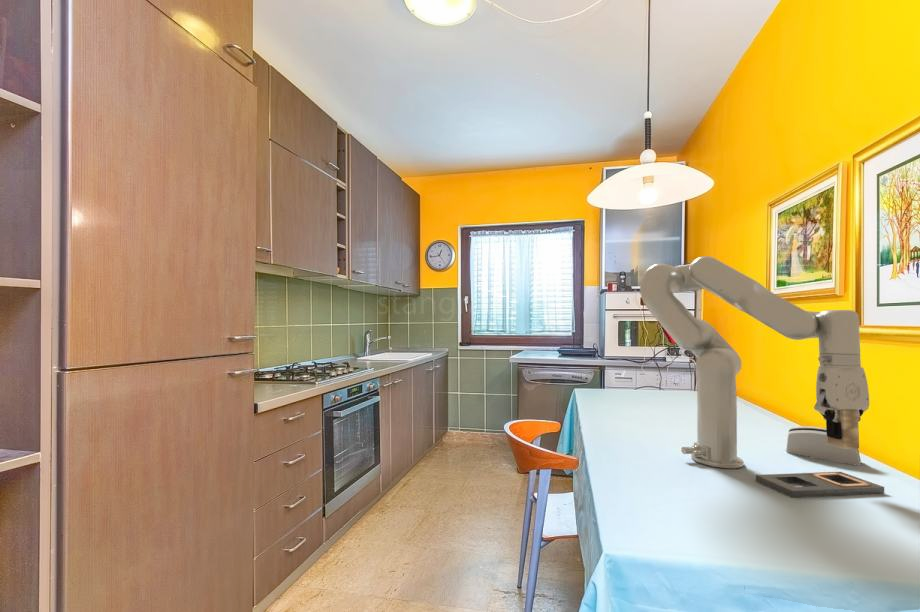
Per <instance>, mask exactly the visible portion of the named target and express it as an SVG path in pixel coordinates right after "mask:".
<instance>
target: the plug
mask: <svg viewBox="0 0 920 612" xmlns="http://www.w3.org/2000/svg"><path fill="white" fill-rule="evenodd" d="M831 408H833V407H831ZM831 413H832V414H833V410H831ZM838 422H841V432H842V439H835V438H831V437H828V444H829V445H832V446H836V447H839V448H843V449H856V448H858V449H860V433H859V432H860V431H859V429H860V428H858V427H859V422H858V410H840V415H839V421H838Z"/></svg>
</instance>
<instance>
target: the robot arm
mask: <svg viewBox="0 0 920 612" xmlns="http://www.w3.org/2000/svg"><path fill="white" fill-rule="evenodd" d="M639 284H640V286H639V290H640V296H641V297H640V298H641V299H642V302H643V303H644V305H645V307H646V309H647V310H648V311H649V312H650V314H651V315H652V316H653V317H654V318H655V320H657V322H658V323H659V324H660V326H661V327H662V328H663V329H664V331H666V333H667V334H668V335H669V337H670V338H671V339H672V340H673V341H674V343H675V344H676V345H677V346H678V347H679V348H681V349H682V350H685V351H690V352H691V353H692V354H693V355H694V356H695V357H696V361H695V381H696V391H697V392H696V393H697V394H696V396H697V397H696V398H697V399H696V403H697V409H696V412H697V418H696V419H697V420H696V421H697V429H696V430H697V433H696V434H697V435H696V436H697V437H696V440H697V441H695V442H693V445H691V446H682V447H681V450H680V451H681V453H682V454H683V455H690V454H691V455H690V457H691V459H692V460H693V461H695V462H697V463H699V464H701V465H706V466H708V467H709V466H710V467H713V468H719V469H720V468H722V469H740V468H742V467H743V466H745V463H744V462H745V461H744V460H743V458H741V457H738V428H737V427H738V418H737V417H738V410H737V409H738V407H737V406H738V405H737V403H738V402H737V401H738V399H737V379H736V377H737V375H738V374H739V373H740V371H741V369H742V360H741V356H740V355H739V354H738V352H737V351H736V350H735V349H734V348H733V347H732V346H731V345H730V344H729V343H728V342H727V341H726V338H724V337H723V336H722V335H721V334H720V332H718V330H716V328H715V327H713V325H712V324H710V323H709V322H708V321H706V320H704V319H700V318H697V317H695V316H694V315H693V314H692V313H691V312H690V311H689V310H688V309H687V307H686V306H685V305H684V304H683V302H681V301H680V300H679V299H678V298H677V297H676V295H674V294H678V293H684V292H690V291H691V292H692V291H698V290H699V291H700V290H707V291H708V292H710V293H711V294H712V295H715V296H716V297H718V298H720V299H722V300H723V301H725V302H726V303H728V304H729V305H731V306H733V307H734V308H736V310H739V311H741V312H743V313H745V314H747V315H749V316H750V317H752V318H753V319H756V320H757V321H758V322H760V323H762V324H763V325H765V326H767V327H768V328H770V329H771V330H774V332H776V333H779V334H780V335H782V336H783V337H785V338H786V339H787V338H788V339H790V340H794V341H801V340H807V339H818V354H819V355H818V359H817V360H818V362H819V366H817V367H818V368H817V373H816V383H815V386H816V387H815V397H816V403H815V404H814V406H813V408H814V410H815V411H817V412H818V413H820V415H821V416H822V417H823V420H825V425H826V427H825V428H826V431H827V436H828V437H831V438H835V439H842V432H841V422H838V421H839V415H840V410H858V423H859V422H860V421H861V419H862V418H861V417H862V416H863V414H864V413H865V412H867V410H868V409H869V407H870V394H869V393H870V392H869V385H868V379H867V376H866V371H865V369H864V367H862V365H861V364H862V363H861V362H862V361H861V340H860V338H861V337H860V319H859V318H860V317H859V314H858V312H856V311H855V310H851V309H833V310H832V309H828V310H823V311H809V310H805V309H802V308H801V307H799V306H797V305H795V304H793V303H792V302H790V301H788V300H786V299H785V298H783V297H781V296H779V295H777V294H776V293H774V292H772V291H770V290H769V289H768V288H766V287H765V286H764V285H762V284H761V283H760V282H758V281H757V280H755V279H753V278H752V277H750V276H748V275H746V274H744V273H743V272H740V271H739V270H736V269H735V268H733V267H731V266H729V265H728V264H727V263H724V262H722V261H720V260H718V259H717V258H715V257H712V256H707V255H706V256H705V255H704V256H699V257H697V258H696V259H694V260H693V261H692V262H691V263H689V264H682V265H676V266H673V265H670V264H667V263H656V264H653V265H651V266H649V268H647V269H646V271H644V273H643V275H642V278H641V280H640V283H639ZM831 407H833V408H831ZM831 410H833V414H832V413H831ZM858 428H859V426H858ZM859 429H860V428H859Z"/></svg>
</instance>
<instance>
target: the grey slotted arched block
mask: <svg viewBox="0 0 920 612" xmlns="http://www.w3.org/2000/svg"><path fill="white" fill-rule="evenodd" d="M785 449H786V450H785V452H787V453H786V454H793V455H797V454H798V455H799V456H803V455H804V457H808V456H810V457H809V458H814V457H815V459H819V458H821V459H820V460H825V459H826V460H825V461H830V460H832V461H831V462H836V461H837V462H836V463H841V462H842V463H843V464H847V463H848V464H847V465H852V464H856V465H855V466H857V465H860V464H862V463H861V462H862V459H861V456H860V450H859V448H856V449H843V448H839V447H836V446H832V445H829V444H828V436H827V431H826V427H819V426H818V427H817V426H808V425H807V426H793V427H791V428H790V429H789V430H788V433H787V440H786V448H785ZM860 466H861V465H860Z"/></svg>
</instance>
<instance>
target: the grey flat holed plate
mask: <svg viewBox="0 0 920 612" xmlns="http://www.w3.org/2000/svg"><path fill="white" fill-rule="evenodd" d="M755 482H757V483H758V484H762V485H764V486H765V487H768V488H770V489H772V490H774V491H777V492H779V493H781V494H783V495H784V496H788V497H790V498H792V499H795V498H796V499H798V498H815V497H816V498H817V497H819V498H820V497H821V498H822V497H838V496H839V497H840V496H843V497H844V496H858V495H859V496H862V495H880V494H881V495H882V494H885V486H883V485H879V484H877V483H874V482H871V481H867V480H866V479H862V478H859V477H857V476H855V475H851V474H848V473H845V472H843V471H824V472H797V473H774V474H771V473H770V474H755ZM793 484H797V485H800V486H795V485H793Z"/></svg>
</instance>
